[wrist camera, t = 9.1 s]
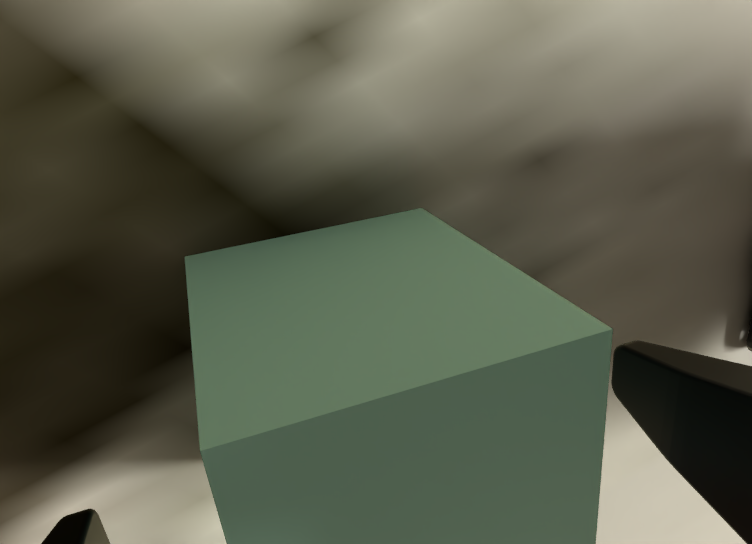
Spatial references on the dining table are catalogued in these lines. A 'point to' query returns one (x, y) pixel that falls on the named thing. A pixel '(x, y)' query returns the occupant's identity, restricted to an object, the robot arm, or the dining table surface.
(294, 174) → the dining table surface
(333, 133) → the dining table surface
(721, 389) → the robot arm
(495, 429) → the teal block
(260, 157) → the dining table surface
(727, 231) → the dining table surface
